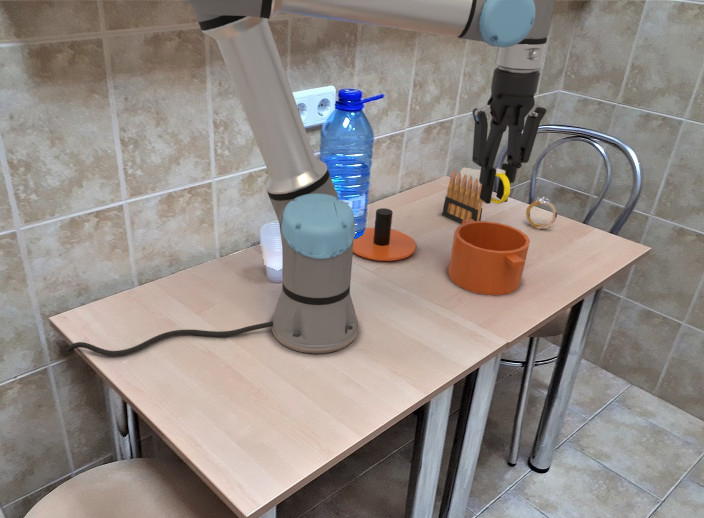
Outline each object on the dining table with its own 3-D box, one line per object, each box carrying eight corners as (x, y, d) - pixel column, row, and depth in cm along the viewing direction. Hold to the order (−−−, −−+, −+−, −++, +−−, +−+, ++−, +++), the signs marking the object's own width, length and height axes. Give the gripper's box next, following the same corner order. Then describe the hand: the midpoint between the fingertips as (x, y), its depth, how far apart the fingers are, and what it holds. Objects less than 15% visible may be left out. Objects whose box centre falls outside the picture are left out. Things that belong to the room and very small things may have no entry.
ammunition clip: (479, 228, 149) (488, 181, 143) (474, 229, 148) (483, 182, 142) (446, 213, 156) (453, 168, 150) (441, 214, 155) (448, 169, 149)
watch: (510, 205, 113) (516, 174, 110) (499, 208, 112) (505, 177, 109) (487, 195, 118) (492, 165, 115) (476, 197, 116) (481, 167, 113)
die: (487, 199, 167) (475, 164, 167) (494, 194, 159) (482, 158, 158) (457, 210, 168) (445, 175, 168) (463, 206, 159) (450, 169, 159)
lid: (360, 266, 130) (363, 229, 126) (337, 235, 143) (339, 200, 138) (427, 259, 134) (432, 222, 130) (398, 229, 147) (402, 195, 142)
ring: (521, 226, 151) (528, 195, 147) (527, 222, 153) (534, 192, 149) (549, 234, 147) (557, 203, 143) (554, 230, 150) (562, 199, 145)
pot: (476, 306, 118) (485, 262, 113) (431, 259, 134) (436, 219, 129) (541, 297, 122) (553, 254, 117) (489, 252, 138) (497, 213, 133)
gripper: (486, 74, 97) (464, 211, 110) (572, 71, 101) (541, 203, 114) (464, 65, 104) (445, 196, 116) (545, 62, 107) (519, 189, 120)
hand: (493, 199), depth 115 cm, fingers closed on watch, 3 cm apart
